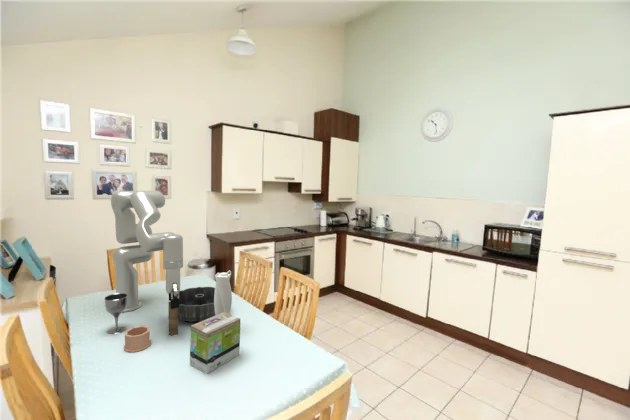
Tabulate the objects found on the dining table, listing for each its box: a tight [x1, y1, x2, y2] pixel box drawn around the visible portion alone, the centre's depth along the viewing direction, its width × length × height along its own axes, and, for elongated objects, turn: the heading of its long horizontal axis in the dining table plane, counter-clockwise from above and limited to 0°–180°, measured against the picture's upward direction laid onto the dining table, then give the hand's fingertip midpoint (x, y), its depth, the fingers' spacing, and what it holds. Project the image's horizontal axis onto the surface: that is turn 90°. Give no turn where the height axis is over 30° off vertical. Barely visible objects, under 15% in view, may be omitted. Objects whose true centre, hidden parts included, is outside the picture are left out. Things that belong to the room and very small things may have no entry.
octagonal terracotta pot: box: [123, 325, 152, 353], centre depth 115 cm, size 9×9×6 cm
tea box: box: [189, 312, 241, 375], centre depth 108 cm, size 15×10×15 cm, turn 148°
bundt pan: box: [178, 286, 215, 323], centre depth 144 cm, size 26×26×10 cm
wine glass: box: [104, 293, 127, 335], centre depth 126 cm, size 8×8×15 cm
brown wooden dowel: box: [167, 301, 179, 337], centre depth 125 cm, size 4×4×14 cm
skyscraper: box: [214, 270, 233, 315], centre depth 127 cm, size 8×8×28 cm
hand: (173, 303), depth 124 cm, fingers open, 9 cm apart
